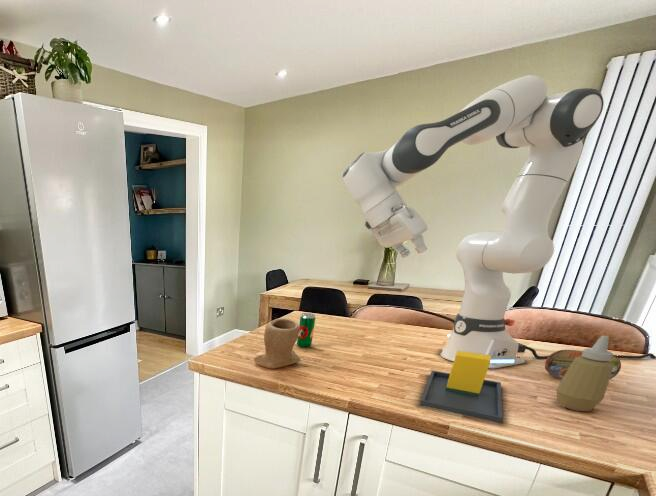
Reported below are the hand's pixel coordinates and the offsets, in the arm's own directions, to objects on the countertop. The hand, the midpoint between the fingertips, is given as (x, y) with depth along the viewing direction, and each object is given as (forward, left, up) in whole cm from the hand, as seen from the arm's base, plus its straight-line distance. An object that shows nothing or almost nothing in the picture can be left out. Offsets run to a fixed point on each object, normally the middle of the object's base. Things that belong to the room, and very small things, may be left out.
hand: (414, 253), depth 107 cm
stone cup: (+29, -12, -35) cm, 47 cm away
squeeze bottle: (-29, +28, -35) cm, 53 cm away
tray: (-7, +19, -35) cm, 40 cm away
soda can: (+12, -29, -35) cm, 47 cm away
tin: (-48, +13, -35) cm, 61 cm away
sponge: (-10, +16, -34) cm, 39 cm away
